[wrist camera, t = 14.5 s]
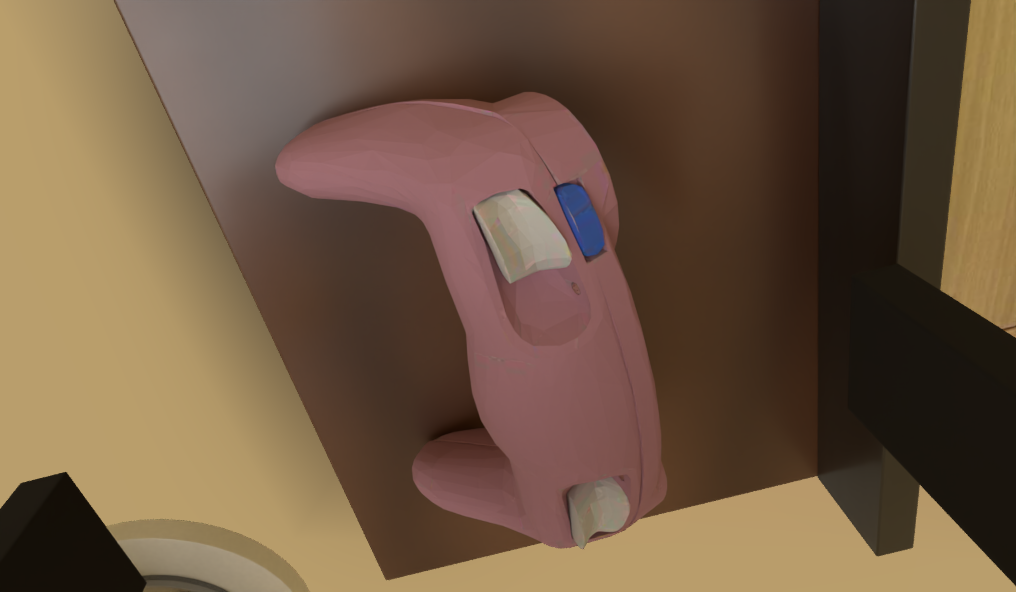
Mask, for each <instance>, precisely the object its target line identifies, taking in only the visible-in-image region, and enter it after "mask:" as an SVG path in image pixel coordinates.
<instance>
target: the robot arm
mask: <svg viewBox="0 0 1016 592" xmlns="http://www.w3.org/2000/svg"><path fill="white" fill-rule="evenodd" d="M848 409H849V410H850V411H851V412H852V413H853V415H854V416H855V417H856V418H857V419H858V420H859V421H860V422H861V423H862V424H863V425H864V426H865V427H866V428H867V429H868V430H869V431H870V432H871V434H872V435H873V436H874V437H875V438H876V439H877V440H878V441H879V442H880V443H881V444H882V445H883V446H884V447H885V448H886V449H887V450H888V451H889V453H890V454H891V455H892V456H893V457H894V458H895V459H896V460H897V461H898V462H899V463H900V464H901V465H902V466H903V467H904V468H905V469H906V471H907V472H908V473H909V474H910V475H911V476H912V477H913V478H914V479H915V480H916V481H917V482H918V483H919V484H920V485H921V486H922V487H923V488H924V489H925V491H926V492H927V493H928V494H929V495H930V496H931V497H932V498H933V499H934V500H935V501H936V502H937V503H938V504H939V505H940V506H941V507H942V509H943V510H944V511H945V512H946V513H947V514H948V515H949V516H950V517H951V518H952V519H953V520H954V521H955V522H956V523H957V524H958V525H959V526H960V528H962V530H963V531H964V532H965V533H966V534H967V535H968V536H969V537H970V538H971V539H972V540H973V541H974V542H975V543H976V544H977V545H978V547H979V548H980V549H981V550H982V551H983V552H984V553H985V554H986V555H987V556H988V557H989V558H990V559H991V560H992V561H993V562H994V563H995V564H996V565H997V567H998V568H999V569H1000V570H1002V572H1003V573H1004V574H1005V575H1006V576H1007V577H1008V578H1009V579H1010V580H1011V581H1012V582H1013V583H1014V584H1015V586H1016V338H1015V337H1013V336H1012V335H1010V334H1009V333H1007V332H1005V331H1004V330H1002V329H1001V328H999V327H998V326H996V325H994V324H993V323H991V322H990V321H988V320H986V319H985V318H983V317H982V316H980V315H979V314H977V313H975V312H974V311H972V310H971V309H969V308H968V307H966V306H964V305H963V304H961V303H960V302H958V301H956V300H955V299H953V298H952V297H950V296H949V295H947V294H945V293H944V292H942V291H941V290H939V289H937V288H936V287H934V286H933V285H931V284H930V283H928V282H926V281H925V280H923V279H922V278H920V277H918V276H917V275H915V274H914V273H912V272H911V271H909V270H907V269H906V268H904V267H903V266H901V265H899V264H898V263H897V264H893V265H889V266H885V267H881V268H877V269H873V270H869V271H865V272H861V273H857V274H853V275H851V308H850V343H849V378H848ZM0 592H228V591H226V590H224V589H222V588H220V587H218V586H215V585H213V584H210V583H207V582H204V581H200V580H197V579H192V578H187V577H181V576H172V575H145V576H142V575H141V574H140V572H139V571H138V570H137V568H136V567H135V566H134V564H133V563H132V562H131V560H130V559H129V557H128V556H127V555H126V553H125V552H124V551H123V549H122V548H121V546H120V545H119V544H118V542H117V541H116V540H115V538H114V537H113V535H112V534H111V533H110V531H109V530H108V529H107V527H106V526H105V524H104V523H103V522H102V520H101V519H100V518H99V516H98V515H97V514H96V512H95V511H94V509H93V508H92V507H91V505H90V504H89V503H88V501H87V500H86V499H85V497H84V496H83V494H82V493H81V492H80V490H79V489H78V487H77V486H76V485H75V483H74V482H73V481H72V479H71V478H70V477H69V475H68V474H67V472H63V473H59V474H55V475H52V476H48V477H43V478H39V479H35V480H32V481H27V482H23V483H21V484H20V485H19V486H18V487H17V489H16V490H15V491H14V492H13V494H12V495H11V496H10V498H9V499H8V500H7V501H6V502H5V504H4V505H3V506H2V507H1V509H0Z"/></svg>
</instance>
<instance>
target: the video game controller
mask: <svg viewBox="0 0 1016 592" xmlns="http://www.w3.org/2000/svg"><path fill="white" fill-rule="evenodd" d="M275 169H276V174H277V177H278V179H279V181H280V182H281V183H282V184H284V185H285V186H287V187H289V188H291V189H293V190H296V191H298V192H300V193H302V194H304V195H307V196H309V197H311V198H319V199H333V200H347V201H361V202H367V203H373V204H379V205H385V206H391V207H396V208H400V209H402V210H405V211H407V212H410V213H412V214H415V215H416V216H417V217H418V218H419V219H420V220H421V221H422V222H423V223H424V225H425V227H426V229H427V230H428V232H429V234H430V237H431V240H432V243H433V246H434V249H435V252H436V255H437V257H438V260H439V263H440V266H441V269H442V272H443V275H444V278H445V281H446V284H447V286H448V289H449V291H450V294H451V296H452V299H453V301H454V304H455V306H456V309H457V311H458V314H459V316H460V319H461V321H462V324H463V327H464V329H465V332H466V341H467V355H468V365H469V373H470V381H471V388H472V394H473V397H474V400H475V403H476V407H477V410H478V413H479V416H480V419H481V421H482V423H483V424H484V426H485V428H477V429H470V430H463V431H457V432H452V433H449V434H446V435H443V436H440V437H439V438H437V439H435V440H433V441H429V442H428V443H427V444H425V445H424V447H423V448H422V449H421V450H420V452H419V453H418V454H417V456H416V458H415V459H414V462H413V466H412V474H413V481H414V483H415V484H416V486H417V488H418V489H419V490H420V492H421V493H422V494H423V495H424V496H425V497H427V498H428V499H429V500H430V501H431V502H433V503H434V504H436V505H438V506H439V507H441V508H443V509H445V510H448V511H451V512H454V513H457V514H460V515H463V516H466V517H470V518H474V519H478V520H482V521H486V522H490V523H494V524H498V525H502V526H505V527H507V528H510V529H512V530H515V531H517V532H520V533H522V534H525V535H527V536H529V537H532V538H534V539H536V540H538V541H540V542H542V543H544V544H546V545H548V546H551V547H556V548H571V547H575V546H579V547H580V548H581V549H584V547H585V545H586V544H587V543H589V542H592V541H596V540H599V539H603V538H606V537H610V536H612V535H615V534H617V533H619V532H622V531H624V530H626V528H628V527H629V526H631V525H632V524H633V523H635V522H636V521H637V520H639V519H640V518H641V517H643V516H644V515H645V514H646V513H648V512H649V511H650V510H652V509H653V508H654V507H656V506H657V505H658V504H659V503H661V502H662V501H663V500H664V498H665V496H666V492H667V477H666V474H665V470H664V467H663V464H662V462H661V447H662V446H661V427H660V418H659V410H658V403H657V396H656V388H655V381H654V377H653V373H652V369H651V365H650V361H649V356H648V352H647V348H646V344H645V340H644V336H643V332H642V327H641V324H640V321H639V318H638V314H637V311H636V308H635V304H634V301H633V298H632V294H631V291H630V288H629V286H628V283H627V281H626V278H625V276H624V273H623V270H622V268H621V265H620V263H619V260H618V257H617V255H616V252H615V250H614V249H615V246H616V243H617V237H618V230H619V216H618V202H617V198H616V195H615V191H614V187H613V184H612V180H611V177H610V174H609V172H608V169H607V167H606V165H605V163H604V161H603V159H602V157H601V154H600V152H599V150H598V148H597V146H596V144H595V142H594V141H593V140H592V138H591V137H590V135H589V134H588V133H587V131H586V130H585V128H584V127H583V126H582V124H581V123H580V122H579V121H578V120H577V119H576V117H575V116H574V115H573V114H572V113H571V112H570V111H569V110H568V109H567V108H566V107H564V106H563V105H562V104H560V103H559V102H558V101H556V100H554V99H552V98H550V97H549V96H547V95H544V94H540V93H536V92H523V93H520V94H517V95H515V96H512V97H509V98H506V99H504V100H501V101H498V102H495V103H488V102H483V101H477V100H472V99H420V100H412V101H404V102H396V103H390V104H385V105H379V106H374V107H369V108H366V109H362V110H358V111H354V112H351V113H347V114H344V115H340V116H337V117H334V118H331V119H327V120H325V121H322V122H320V123H317V124H315V125H313V126H312V127H310V128H309V129H307V130H305V131H304V132H302V133H300V134H299V135H297V136H296V137H295V138H294V139H293V140H291V141H290V142H289V143H288V144H287V145H285V146H284V148H283V149H282V151H281V152H280V154H279V155H278V158H277V161H276V164H275Z"/></svg>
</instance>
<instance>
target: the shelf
mask: <svg viewBox="0 0 1016 592" xmlns="http://www.w3.org/2000/svg"><path fill="white" fill-rule="evenodd" d="M114 2H115V4H116V7H117V9H118V11H119V13H120V15H121V17H122V19H123V21H124V24H125V26H126V28H127V30H128V32H129V34H130V36H131V38H132V40H133V43H134V45H135V47H136V49H137V51H138V53H139V56H140V58H141V60H142V62H143V64H144V66H145V68H146V70H147V72H148V75H149V77H150V79H151V81H152V83H153V85H154V87H155V90H156V92H157V94H158V96H159V98H160V100H161V102H162V104H163V107H164V109H165V111H166V113H167V115H168V117H169V119H170V121H171V124H172V126H173V128H174V130H175V132H176V134H177V136H178V138H179V140H180V143H181V145H182V147H183V149H184V151H185V153H186V155H187V157H188V160H189V162H190V164H191V166H192V168H193V170H194V172H195V174H196V177H197V179H198V181H199V183H200V185H201V187H202V190H203V192H204V194H205V196H206V198H207V200H208V202H209V204H210V206H211V208H212V211H213V213H214V215H215V217H216V219H217V222H218V224H219V225H220V228H221V230H222V232H223V234H224V236H225V239H226V241H227V243H228V245H229V247H230V249H231V251H232V253H233V256H234V258H235V260H236V262H237V264H238V266H239V268H240V270H241V273H242V274H243V277H244V279H245V281H246V283H247V285H248V287H249V289H250V292H251V294H252V296H253V298H254V300H255V302H256V304H257V307H258V309H259V311H260V313H261V315H262V317H263V319H264V321H265V324H266V326H267V328H268V330H269V332H270V334H271V336H272V339H273V341H274V343H275V345H276V347H277V349H278V351H279V353H280V356H281V358H282V360H283V362H284V364H285V366H286V368H287V370H288V373H289V375H290V377H291V379H292V381H293V383H294V385H295V387H296V390H297V392H298V394H299V396H300V398H301V400H302V402H303V405H304V407H305V409H306V411H307V413H308V415H309V417H310V419H311V422H312V424H313V426H314V428H315V430H316V432H317V434H318V436H319V439H320V441H321V443H322V445H323V447H324V449H325V451H326V453H327V456H328V458H329V460H330V462H331V464H332V466H333V468H334V470H335V472H336V474H337V477H338V479H339V481H340V483H341V485H342V488H343V489H344V492H345V494H346V496H347V498H348V500H349V502H350V505H351V507H352V508H353V511H354V513H355V515H356V517H357V519H358V522H359V524H360V526H361V528H362V530H363V532H364V534H365V537H366V539H367V541H368V543H369V545H370V547H371V549H372V551H373V553H374V556H375V558H376V560H377V562H378V564H379V566H380V568H381V571H382V572H383V575H384V577H385V579H386V580H391V579H395V578H399V577H403V576H407V575H411V574H415V573H419V572H423V571H428V570H432V569H436V568H440V567H444V566H448V565H452V564H457V563H460V562H465V561H469V560H473V559H477V558H481V557H485V556H489V555H494V554H498V553H502V552H506V551H510V550H514V549H518V548H522V547H527V546H530V545H535V544H538V543H542V542H540V541H538V540H536V539H534V538H532V537H529V536H527V535H525V534H522V533H520V532H517V531H515V530H512V529H510V528H507V527H505V526H502V525H498V524H494V523H490V522H486V521H482V520H478V519H474V518H470V517H466V516H463V515H460V514H457V513H454V512H451V511H448V510H445V509H443V508H441V507H439V506H438V505H436V504H434V503H433V502H431V501H430V500H429V499H428V498H427V497H425V496H424V495H423V494H422V493H421V492H420V490H419V489H418V488H417V486H416V484H415V483H414V481H413V474H412V466H413V462H414V459H415V458H416V456H417V454H418V453H419V452H420V450H421V449H422V448H423V447H424V445H425V444H427V443H428V442H429V441H433V440H435V439H437V438H439V437H440V436H443V435H446V434H449V433H452V432H457V431H463V430H470V429H477V428H485V426H484V424H483V423H482V421H481V419H480V416H479V413H478V410H477V407H476V403H475V400H474V397H473V394H472V388H471V381H470V373H469V365H468V355H467V341H466V332H465V329H464V327H463V324H462V321H461V319H460V316H459V314H458V311H457V309H456V306H455V304H454V301H453V299H452V296H451V294H450V291H449V289H448V286H447V284H446V281H445V278H444V275H443V272H442V269H441V266H440V263H439V260H438V257H437V255H436V252H435V249H434V246H433V243H432V240H431V237H430V234H429V232H428V230H427V229H426V227H425V225H424V223H423V222H422V221H421V220H420V219H419V218H418V217H417V216H416V215H415V214H412V213H410V212H407V211H405V210H402V209H400V208H396V207H391V206H385V205H379V204H373V203H367V202H361V201H347V200H333V199H319V198H311V197H309V196H307V195H304V194H302V193H300V192H298V191H296V190H293V189H291V188H289V187H287V186H285V185H284V184H282V183H281V182H280V181H279V179H278V177H277V174H276V169H275V164H276V161H277V158H278V155H279V154H280V152H281V151H282V149H283V148H284V146H285V145H287V144H288V143H289V142H290V141H291V140H293V139H294V138H295V137H296V136H297V135H299V134H300V133H302V132H304V131H305V130H307V129H309V128H310V127H312V126H313V125H315V124H317V123H320V122H322V121H325V120H327V119H331V118H334V117H337V116H340V115H344V114H347V113H351V112H354V111H358V110H362V109H366V108H369V107H374V106H379V105H385V104H390V103H396V102H404V101H412V100H420V99H472V100H477V101H483V102H488V103H495V102H498V101H501V100H504V99H506V98H509V97H512V96H515V95H517V94H520V93H523V92H536V93H540V94H544V95H547V96H549V97H550V98H552V99H554V100H556V101H558V102H559V103H560V104H562V105H563V106H564V107H566V108H567V109H568V110H569V111H570V112H571V113H572V114H573V115H574V116H575V117H576V119H577V120H578V121H579V122H580V123H581V124H582V126H583V127H584V128H585V130H586V131H587V133H588V134H589V135H590V137H591V138H592V140H593V141H594V142H595V144H596V146H597V148H598V150H599V152H600V154H601V157H602V159H603V161H604V163H605V165H606V167H607V169H608V172H609V174H610V177H611V180H612V184H613V187H614V191H615V195H616V198H617V202H618V216H619V230H618V237H617V243H616V246H615V249H614V250H615V252H616V255H617V257H618V260H619V263H620V265H621V268H622V270H623V273H624V276H625V278H626V281H627V283H628V286H629V288H630V291H631V294H632V298H633V301H634V304H635V308H636V311H637V314H638V318H639V321H640V324H641V327H642V332H643V336H644V340H645V344H646V348H647V352H648V356H649V361H650V365H651V369H652V373H653V377H654V381H655V388H656V396H657V403H658V410H659V418H660V427H661V446H662V447H661V462H662V464H663V467H664V470H665V474H666V477H667V492H666V496H665V498H664V500H663V501H662V502H661V503H659V504H658V505H657V506H656V507H654V508H653V509H652V510H650V511H649V512H648V513H646V514H645V515H644V516H643V517H641V518H640V519H642V518H646V517H650V516H654V515H658V514H662V513H666V512H671V511H675V510H679V509H683V508H687V507H691V506H695V505H699V504H704V503H708V502H712V501H716V500H720V499H724V498H728V497H732V496H736V495H741V494H745V493H749V492H753V491H757V490H761V489H765V488H769V487H774V486H778V485H782V484H786V483H790V482H794V481H798V480H802V479H806V478H810V477H814V476H818V478H819V480H820V481H821V482H822V484H823V485H824V486H825V488H826V489H827V490H828V492H829V493H830V494H831V496H832V497H833V498H834V500H835V501H836V502H837V504H838V505H839V506H840V508H841V509H842V510H843V512H844V513H845V514H846V516H847V517H848V519H849V520H850V521H851V522H852V524H853V525H854V527H855V528H856V529H857V531H858V532H859V533H860V534H861V536H862V537H863V539H864V540H865V541H866V543H867V544H868V545H869V546H870V548H871V549H872V551H873V552H874V553H875V555H876V556H881V555H885V554H890V553H894V552H898V551H902V550H906V549H910V548H913V543H914V533H915V524H916V514H917V506H918V496H919V485H920V484H919V483H918V482H917V481H916V480H915V479H914V478H913V477H912V476H911V475H910V474H909V473H908V472H907V471H906V469H905V468H904V467H903V466H902V465H901V464H900V463H899V462H898V461H897V460H896V459H895V458H894V457H893V456H892V455H891V454H890V453H889V451H888V450H887V449H886V448H885V447H884V446H883V445H882V444H881V443H880V442H879V441H878V440H877V439H876V438H875V437H874V436H873V435H872V434H871V432H870V431H869V430H868V429H867V428H866V427H865V426H864V425H863V424H862V423H861V422H860V421H859V420H858V419H857V418H856V417H855V416H854V415H853V413H852V412H851V411H850V410H849V409H848V378H849V343H850V308H851V275H853V274H857V273H861V272H865V271H869V270H873V269H877V268H881V267H885V266H889V265H893V264H897V263H898V264H899V265H901V266H903V267H904V268H906V269H907V270H909V271H911V272H912V273H914V274H915V275H917V276H918V277H920V278H922V279H923V280H925V281H926V282H928V283H930V284H931V285H933V286H934V287H936V288H937V289H939V290H940V288H941V278H942V269H943V259H944V250H945V240H946V231H947V222H948V212H949V203H950V193H951V184H952V174H953V165H954V155H955V146H956V136H957V127H958V117H959V108H960V98H961V89H962V80H963V70H964V61H965V51H966V42H967V32H968V23H969V13H970V4H971V0H114Z"/></svg>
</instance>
